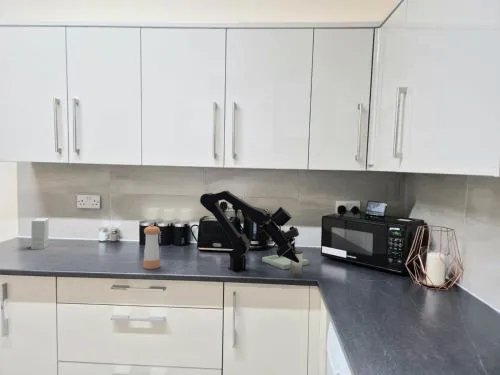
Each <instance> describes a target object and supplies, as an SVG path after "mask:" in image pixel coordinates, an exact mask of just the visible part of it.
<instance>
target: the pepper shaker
mask: <svg viewBox="0 0 500 375" xmlns="http://www.w3.org/2000/svg"><path fill="white" fill-rule="evenodd" d="M160 232H161V230H160V227H159V226H157V225H155V226H154V224H150V226H147V227H145V228H144V229H143V233H144V235H145V244H144V252H143V257H144V258H143V269H145V270H146V269H148V270H153V269H154V270H155V269H158V268H160V267H161V258H160V247H159V246H160V245H159V234H160Z"/></svg>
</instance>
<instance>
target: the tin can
mask: <svg viewBox="0 0 500 375" xmlns="http://www.w3.org/2000/svg"><path fill="white" fill-rule="evenodd" d="M293 252H294V253H295V255H296V256H297V258H298V259H299V261H300V262H299V263H297V262H294V261H292V260H290V268H289V276H290V277H293V278H301V277H302V276H303V266H302V258H303V256H304V255H303V252H304V250H303V249H301V248H296V249H293ZM303 259H304V258H303Z"/></svg>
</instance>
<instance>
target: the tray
mask: <svg viewBox="0 0 500 375" xmlns="http://www.w3.org/2000/svg"><path fill="white" fill-rule="evenodd" d="M261 262H263V263H265V264H268V265H271V266H273V267H276V268H279V269H280V270H290V259H288V258H285V257H282V256H281V257H279V256H278V255H277V254H273V255H268V256H262V257H261ZM309 262H310V261H309V259H305V258H302V267H303V266H309Z"/></svg>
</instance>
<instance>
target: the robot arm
mask: <svg viewBox="0 0 500 375" xmlns="http://www.w3.org/2000/svg"><path fill="white" fill-rule="evenodd" d="M220 201H226V202H227V203H229V204H230V205H232V206H233V207H234V208H237V209H238V210H240V211H241V212H243V213H244V214H245V215H246V216H247V217H248V218H249V219H250V220H251V221H252V222H253V223H255V225H259V226H258V233H260V234H261V233H262V232H263V231H264V232H265V234H266V235H267V236H268V238H270V239H271V240H270V241H271V243H274V244H275V245H276V246H277V247H276V248H277V249H276V255H278V256H279V257H281V256H282V257H285V258H288V259H290V260H292V261H294V262H297V263H299V262H300V261H299V259H298V258H297V256H296V255H295V253H294V252H293V249H297V248H296V241H295V240H296V238H297V237H299V235H300V232H299V229H298V228H297V227H294V225H292V226H290V227H289V229H288V230H286V231H285V230H284V229H280V227H283V226H285V225H286V224H287V223H288V222H289V221H290V220H291V219H292V218H293V217H292V215H291V214H290V212H288V211H287V210H286V209H285V208H283V207H282V206H280V207H279V208H278V209H277V210H276V211H275V212H274V213H268V212H266V211H265V210H264V209H262V208H259V207H255V206H253V205H251V204H249V203H247V202H246V201H245V200H242V199H241V198H240V197H239V196H237V195H234V194H233V193H232V192H231V191H230V190H222V191H221V192H215V193H213V192H208V193H203V194H202V195H201V196H200V198H199V202H200V205H202V207H204V208H205V209H206V211H208V212H210V213H211V214H212V215H213V217H215V219H216V221H217V222H218V223H219V225H220V226H221V228H222V230H223V231H224V232H225V233H226V234H227V237H228V238H229V239H230V242H231V245H232V248H233V249H232V250H231V251H230V252H229V253H228V255H229V266H228V267H227V269H228V270H230V271H232V272H234V273H237V272H238V273H239V272H244V271H247V270H248V268H247V259H246V255H245V254H246V253H247V252H248V251H249V249H250V248H251V243H250V240H251V239H249V238H247V236H246V234H245V233H243V234H241V233H240V232H239V231H238V230H237V229H236V228H235V226H234V225H233V223H232V222H231V221H230V219H229V217H228V216H227V215H226V214H225V212H224V210H223V208H221V205H220ZM271 219H272V220H271ZM268 221H269V222H268ZM262 224H263V225H262Z"/></svg>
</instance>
